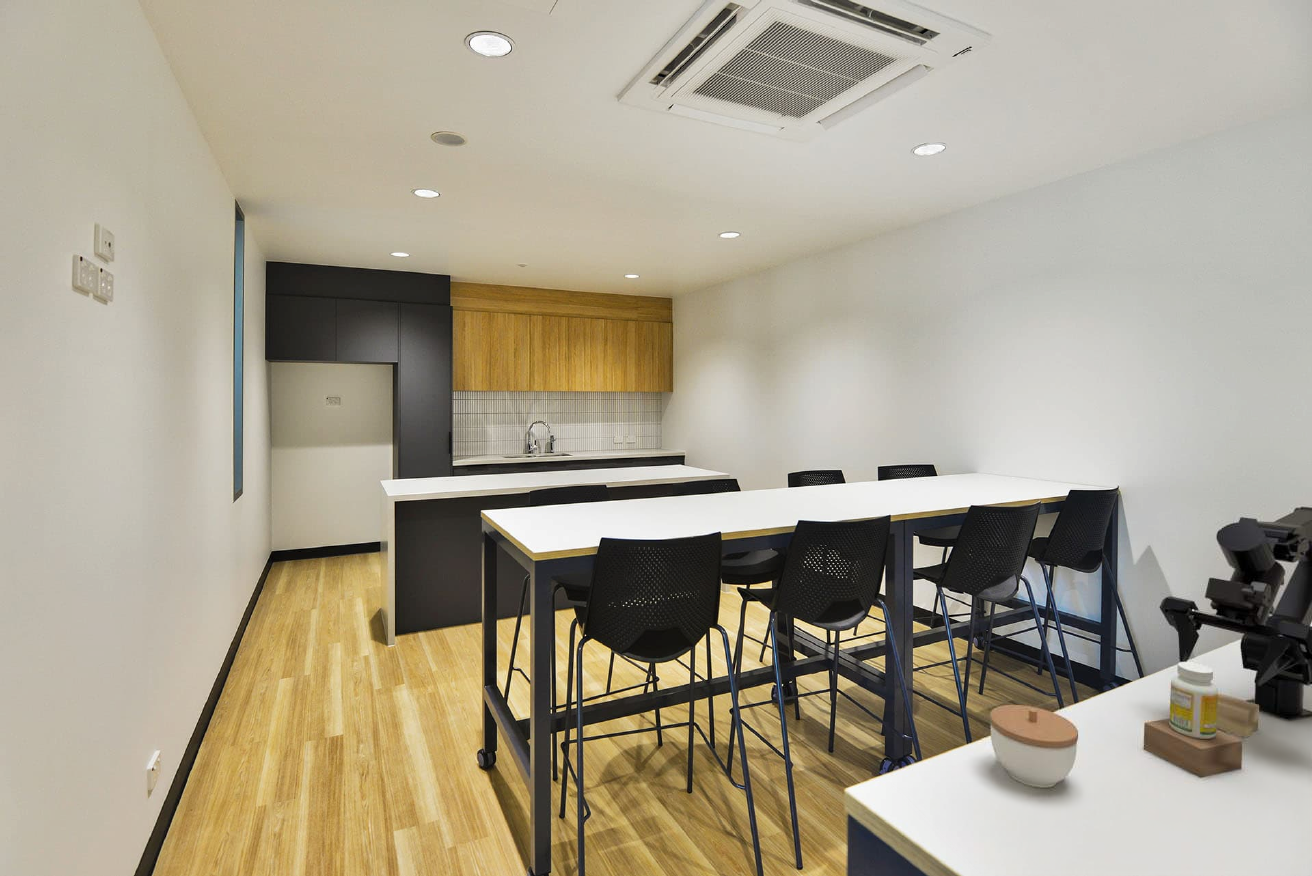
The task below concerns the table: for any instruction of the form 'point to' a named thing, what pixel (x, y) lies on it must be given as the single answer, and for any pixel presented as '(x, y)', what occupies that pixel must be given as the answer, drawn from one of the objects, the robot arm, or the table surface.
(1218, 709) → the oak block
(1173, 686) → the supplement bottle
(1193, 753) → the walnut block
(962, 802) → the table surface
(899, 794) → the table surface
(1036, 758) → the lidded jar
